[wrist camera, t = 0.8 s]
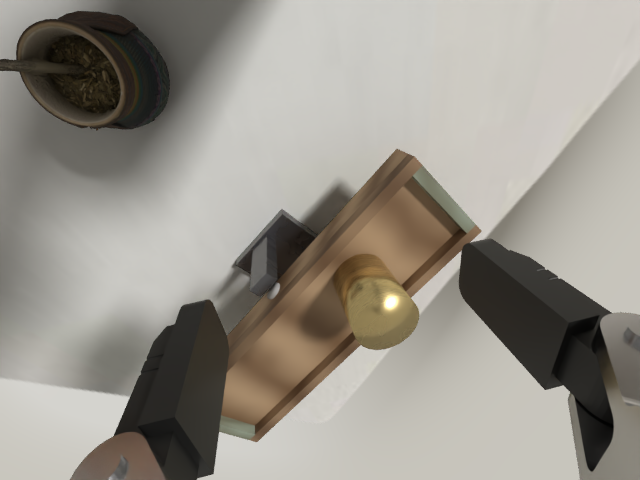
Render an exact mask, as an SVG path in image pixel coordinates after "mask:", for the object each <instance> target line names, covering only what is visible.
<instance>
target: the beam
mask: <svg viewBox="0 0 640 480" xmlns="http://www.w3.org/2000/svg"><path fill="white" fill-rule="evenodd" d="M480 232H481V230H480V229H479V228H478V227H477V225H476V224H475V223H474V222H473V221H472V220H471V219H470V218H469V217H468V215H467V214H466V213H465V212H464V211H463V210H462V209H461V208H460V207H459V205H458V204H457V203H456V202H455V201H454V200H453V199H452V198H451V197H450V195H449V194H448V193H447V192H446V191H445V190H444V189H443V188H442V187H441V185H440V184H439V183H438V182H437V181H436V180H435V179H434V178H433V177H432V175H431V174H430V173H429V172H428V171H427V170H426V169H425V168H424V167H423V165H422V164H421V163H420V162H419V161H418V160H417V159H416V158H415V157H414V156H412V155H410V154H407V153H405V152H403V151H400V150H398V149H396V150H395V151H394V153H393V154H392V155H391V156H390V157H389V158H388V159H387V160H386V161H385V162H384V164H383V165H382V166H381V167H380V168H379V169H378V170H377V171H376V172H375V173H374V175H373V176H372V177H371V178H370V179H369V180H368V181H367V182H366V183H365V185H364V186H363V187H362V188H361V189H360V190H359V191H358V192H357V193H356V194H355V196H354V197H353V198H352V199H351V200H350V201H349V202H348V203H347V204H346V205H345V207H344V208H343V209H342V210H341V211H340V212H339V213H338V214H337V215H336V217H335V218H334V219H333V220H332V221H331V222H330V223H329V224H328V225H327V226H326V228H325V229H324V230H323V231H322V232H321V233H320V234H319V235H318V236H317V237H316V239H315V240H314V241H313V242H312V243H311V244H310V245H309V246H308V247H307V248H306V250H305V251H304V252H303V253H302V254H301V255H300V256H299V257H298V258H297V260H296V261H295V262H294V263H293V264H292V265H291V266H290V267H289V268H288V269H287V271H286V272H285V273H284V274H283V275H282V276H281V277H280V278H279V279H278V280H277V282H276V283H274V284H273V285H272V286H271V287H270V288H269V290H268V292H267V293H266V294H265V295H264V296H263V297H262V298H261V299H260V300H259V301H258V303H257V304H256V305H255V306H254V307H253V308H252V309H251V310H250V311H249V312H248V314H247V315H246V316H245V317H244V318H243V319H242V320H241V321H240V322H239V324H238V325H237V326H236V327H235V328H234V329H233V330H232V331H231V332H230V333H229V335H228V336H227V339H228V344H229V359H228V367H227V374H226V382H225V389H224V397H223V405H222V412H221V420H220V427H219V432H222V433H226V434H229V435H233V436H237V437H240V438H244V439H247V440H251V441H255V442H258V441H259V440H260V439H261V438H262V437H263V436H264V435H265V434H266V433H267V432H268V431H269V430H270V429H271V428H272V427H274V426H275V424H277V423H278V422H279V421H280V420H281V419H282V418H283V417H284V416H285V415H286V414H287V413H289V412H290V411H291V410H292V409H293V408H294V407H295V406H296V405H297V404H298V403H299V402H300V401H301V400H302V399H303V398H304V397H306V396H307V395H308V394H309V393H310V392H311V391H312V390H313V389H314V388H315V387H316V386H317V385H318V384H319V383H320V382H322V381H323V380H324V379H325V378H326V377H327V376H328V375H329V374H330V373H331V372H332V371H333V370H334V369H335V368H336V367H338V366H339V365H340V364H341V363H342V362H343V361H344V360H345V359H346V358H347V357H348V356H349V355H350V354H351V353H352V352H354V351H355V350H356V349H357V348H358V347H359V346H360V344H359V343H358V341H357V340H356V338H355V336H354V333H353V331H352V329H351V326H350V324H349V321H348V319H347V317H346V314H345V312H344V309H343V307H342V305H341V302H340V300H339V298H338V295H337V293H336V290H335V288H334V283H333V281H334V275H335V273H336V271H337V269H338V267H339V266H340V265H341V264H342V263H343V262H344V261H346V260H347V259H349V258H350V257H353V256H355V255H359V254H372V255H375V256H377V257H379V258H380V259H381V260H382V261H383V262H384V263H385V265H386V266H387V267H388V269H389V270H390V271H391V273H392V274H393V275H394V277H395V278H396V279H397V281H398V282H399V283H400V285H401V286H402V287H403V289H404V290H405V291H406V292H407V294H408V295H409V296H410V298H411V297H412V296H413V295H414V294H415V293H416V292H418V291H419V290H420V289H421V288H422V287H423V286H424V285H425V284H426V283H427V282H428V281H429V280H430V279H431V278H432V277H433V276H435V275H436V274H437V273H438V272H439V271H440V270H441V269H442V268H443V267H444V266H445V265H446V264H447V263H448V262H449V261H451V260H452V259H453V258H454V257H455V256H456V255H457V254H458V253H459V252H460V251H461V250H462V248H463V246H464V245H465V244H467V243H470V242H471V241H472V240H473V239H474V238H475V237H476V236H477V235H478V234H479V233H480Z"/></svg>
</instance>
